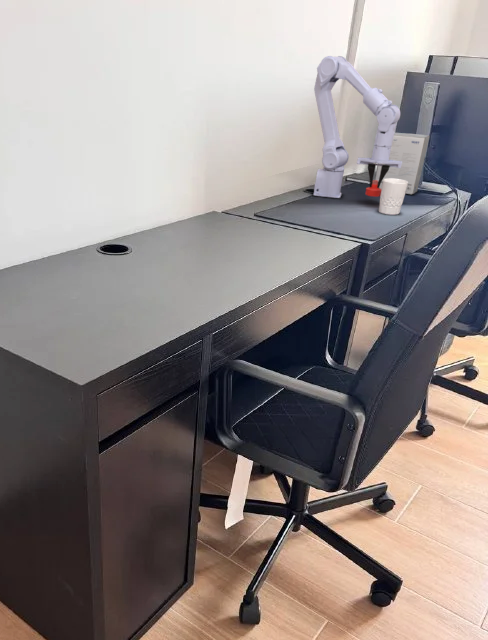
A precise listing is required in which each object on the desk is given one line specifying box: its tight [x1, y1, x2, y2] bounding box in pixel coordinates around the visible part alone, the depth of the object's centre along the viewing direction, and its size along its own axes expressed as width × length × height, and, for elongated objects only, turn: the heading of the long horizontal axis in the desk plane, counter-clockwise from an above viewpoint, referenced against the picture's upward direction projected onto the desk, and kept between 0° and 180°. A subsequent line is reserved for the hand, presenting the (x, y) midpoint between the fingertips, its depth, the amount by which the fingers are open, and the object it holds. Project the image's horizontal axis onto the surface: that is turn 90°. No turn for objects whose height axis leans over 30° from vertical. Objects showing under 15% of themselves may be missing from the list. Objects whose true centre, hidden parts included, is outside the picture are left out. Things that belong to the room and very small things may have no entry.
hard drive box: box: [374, 132, 430, 195], centre depth 217 cm, size 16×8×20 cm, turn 58°
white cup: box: [378, 178, 408, 216], centre depth 189 cm, size 8×8×10 cm
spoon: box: [364, 179, 381, 198], centre depth 200 cm, size 13×5×3 cm, turn 163°
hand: (374, 187), depth 200 cm, fingers closed on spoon, 2 cm apart
